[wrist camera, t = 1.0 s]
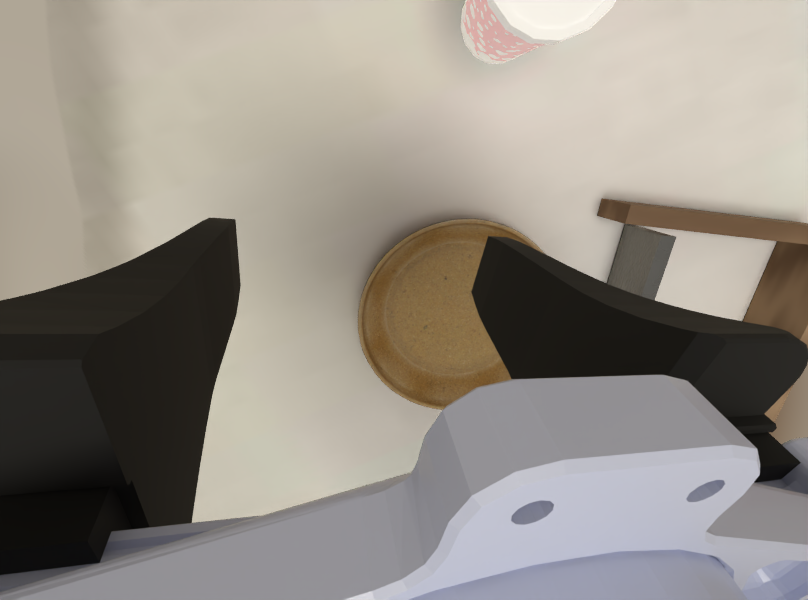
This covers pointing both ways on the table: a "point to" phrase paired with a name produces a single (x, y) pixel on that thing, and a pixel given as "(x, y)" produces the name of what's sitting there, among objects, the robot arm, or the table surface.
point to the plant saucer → (432, 314)
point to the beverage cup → (525, 24)
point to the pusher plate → (641, 261)
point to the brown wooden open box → (783, 277)
